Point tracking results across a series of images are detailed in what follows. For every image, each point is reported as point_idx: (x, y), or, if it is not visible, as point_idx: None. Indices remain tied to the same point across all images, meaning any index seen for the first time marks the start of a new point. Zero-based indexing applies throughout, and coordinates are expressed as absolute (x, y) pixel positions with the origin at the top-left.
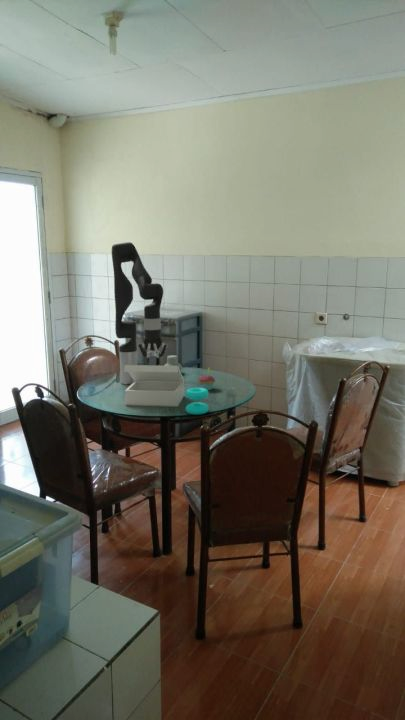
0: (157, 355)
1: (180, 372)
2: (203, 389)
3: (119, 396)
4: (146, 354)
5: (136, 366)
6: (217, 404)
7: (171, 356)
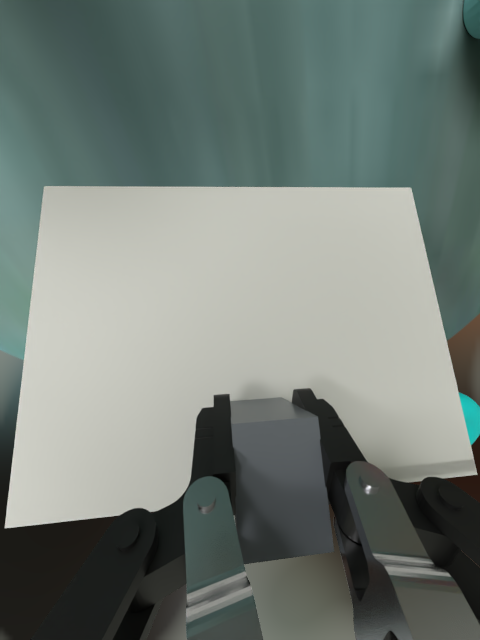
0: (358, 550)
1: (443, 344)
2: (471, 428)
3: (32, 234)
4: (178, 582)
5: (131, 507)
6: (461, 301)
7: None
